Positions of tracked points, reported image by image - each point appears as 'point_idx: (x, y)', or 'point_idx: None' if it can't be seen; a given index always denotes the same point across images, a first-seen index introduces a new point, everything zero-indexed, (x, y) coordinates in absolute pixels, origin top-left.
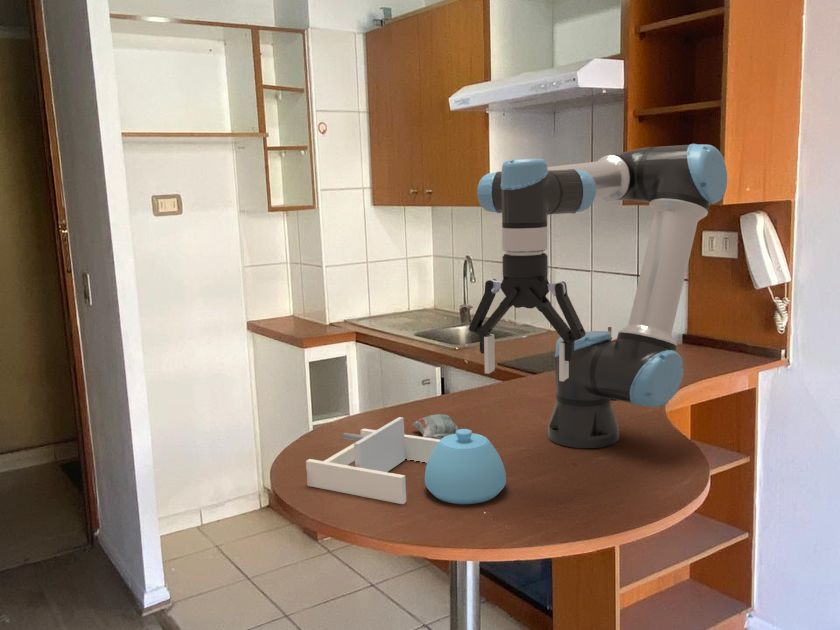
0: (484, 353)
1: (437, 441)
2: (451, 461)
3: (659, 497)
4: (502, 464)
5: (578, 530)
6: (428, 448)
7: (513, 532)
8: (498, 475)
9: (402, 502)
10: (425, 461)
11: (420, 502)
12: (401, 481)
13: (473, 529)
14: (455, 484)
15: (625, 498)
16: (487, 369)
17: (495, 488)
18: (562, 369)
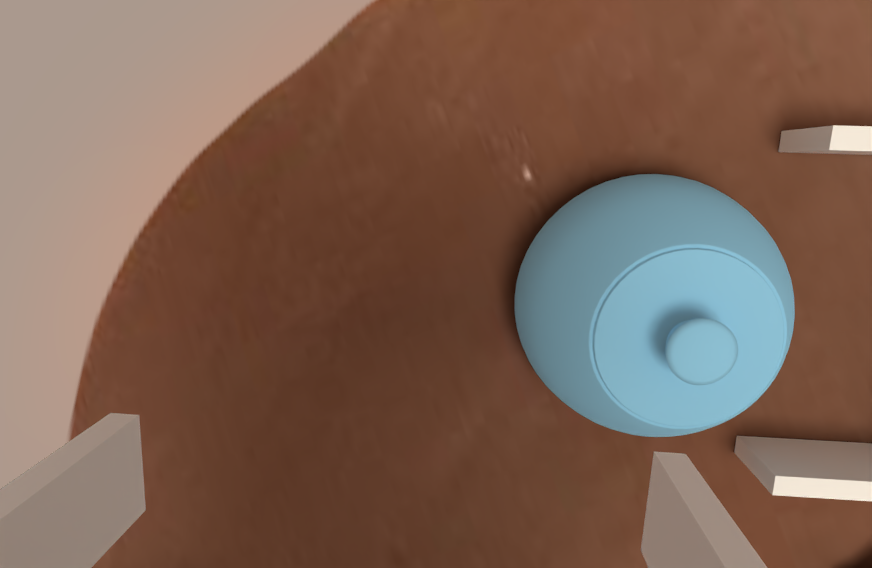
0: (753, 550)
1: (825, 478)
2: (684, 215)
3: None
4: (533, 349)
5: (259, 163)
6: (844, 465)
7: (409, 84)
8: (526, 289)
9: (786, 131)
10: (829, 443)
11: (733, 165)
12: (827, 126)
13: (518, 57)
14: (638, 182)
15: (211, 390)
16: (673, 469)
17: (525, 259)
18: (61, 450)
